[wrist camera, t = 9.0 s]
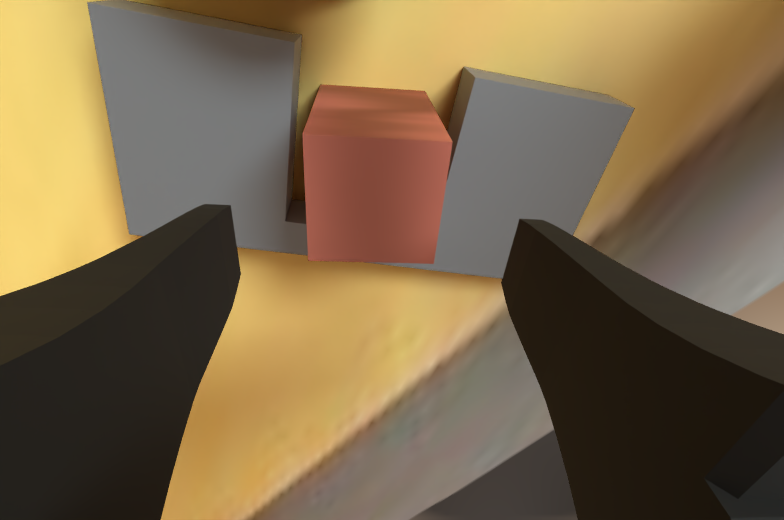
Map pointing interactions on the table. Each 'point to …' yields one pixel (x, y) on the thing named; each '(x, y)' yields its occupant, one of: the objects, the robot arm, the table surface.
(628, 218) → the table surface
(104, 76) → the notched board
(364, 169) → the block
